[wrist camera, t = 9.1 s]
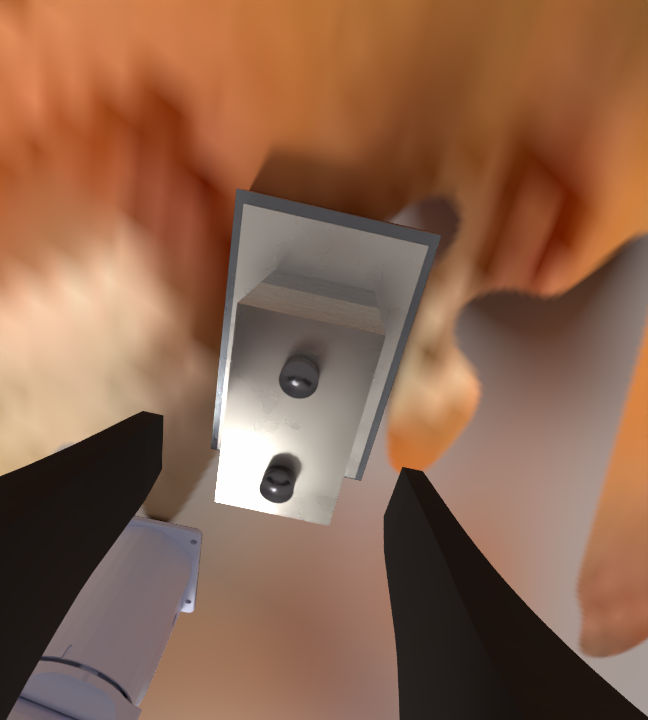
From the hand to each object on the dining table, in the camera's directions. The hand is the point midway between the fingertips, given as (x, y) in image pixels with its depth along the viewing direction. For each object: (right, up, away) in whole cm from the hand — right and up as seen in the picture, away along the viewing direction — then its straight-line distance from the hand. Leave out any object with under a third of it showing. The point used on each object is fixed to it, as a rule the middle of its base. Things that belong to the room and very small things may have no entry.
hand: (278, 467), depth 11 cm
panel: (+1, +4, +9) cm, 10 cm away
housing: (+1, +3, +7) cm, 8 cm away
